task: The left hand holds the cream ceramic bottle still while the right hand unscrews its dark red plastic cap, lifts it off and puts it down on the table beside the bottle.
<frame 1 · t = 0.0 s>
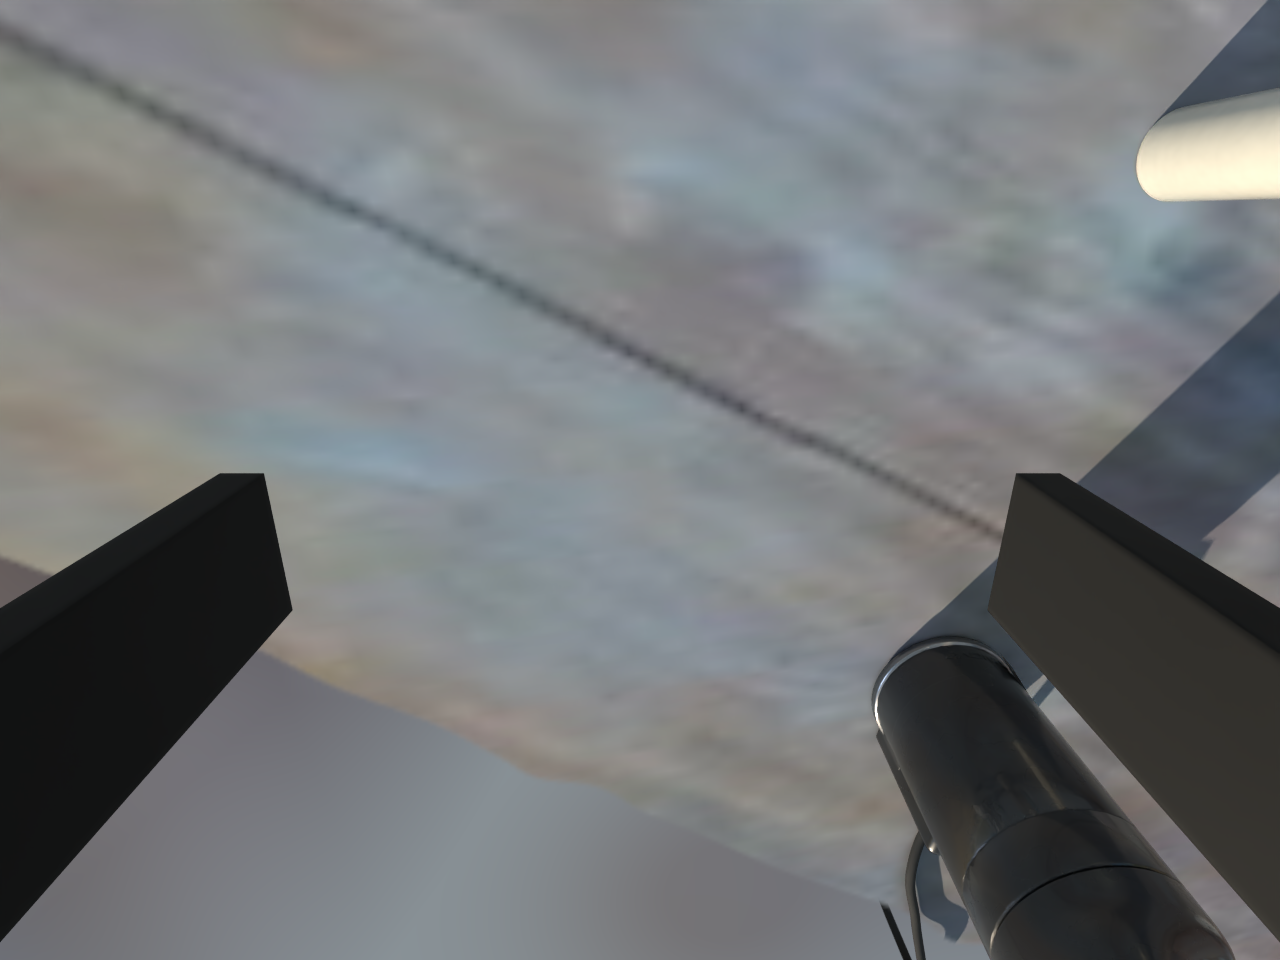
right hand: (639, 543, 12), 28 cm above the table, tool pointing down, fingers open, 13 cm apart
bottle: (1180, 154, 35), on the table
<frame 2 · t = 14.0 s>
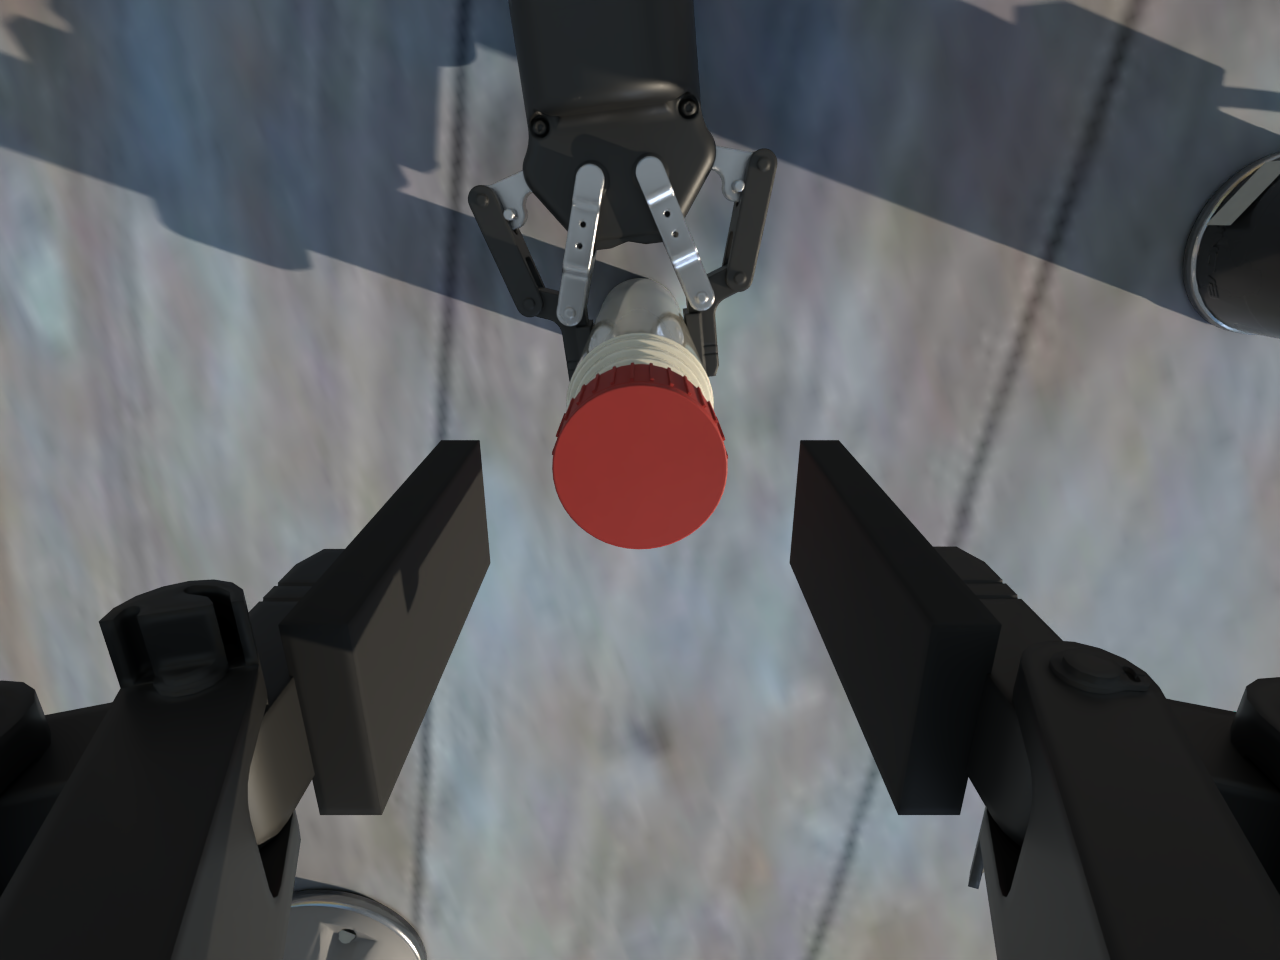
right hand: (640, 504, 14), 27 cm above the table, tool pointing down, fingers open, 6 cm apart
left hand: (645, 390, 34), fingers closed on bottle, 4 cm apart
cap: (639, 466, 16), point 24 cm above the table, screwed on, not yet turned
bottle: (639, 319, 39), on the table, touching left hand
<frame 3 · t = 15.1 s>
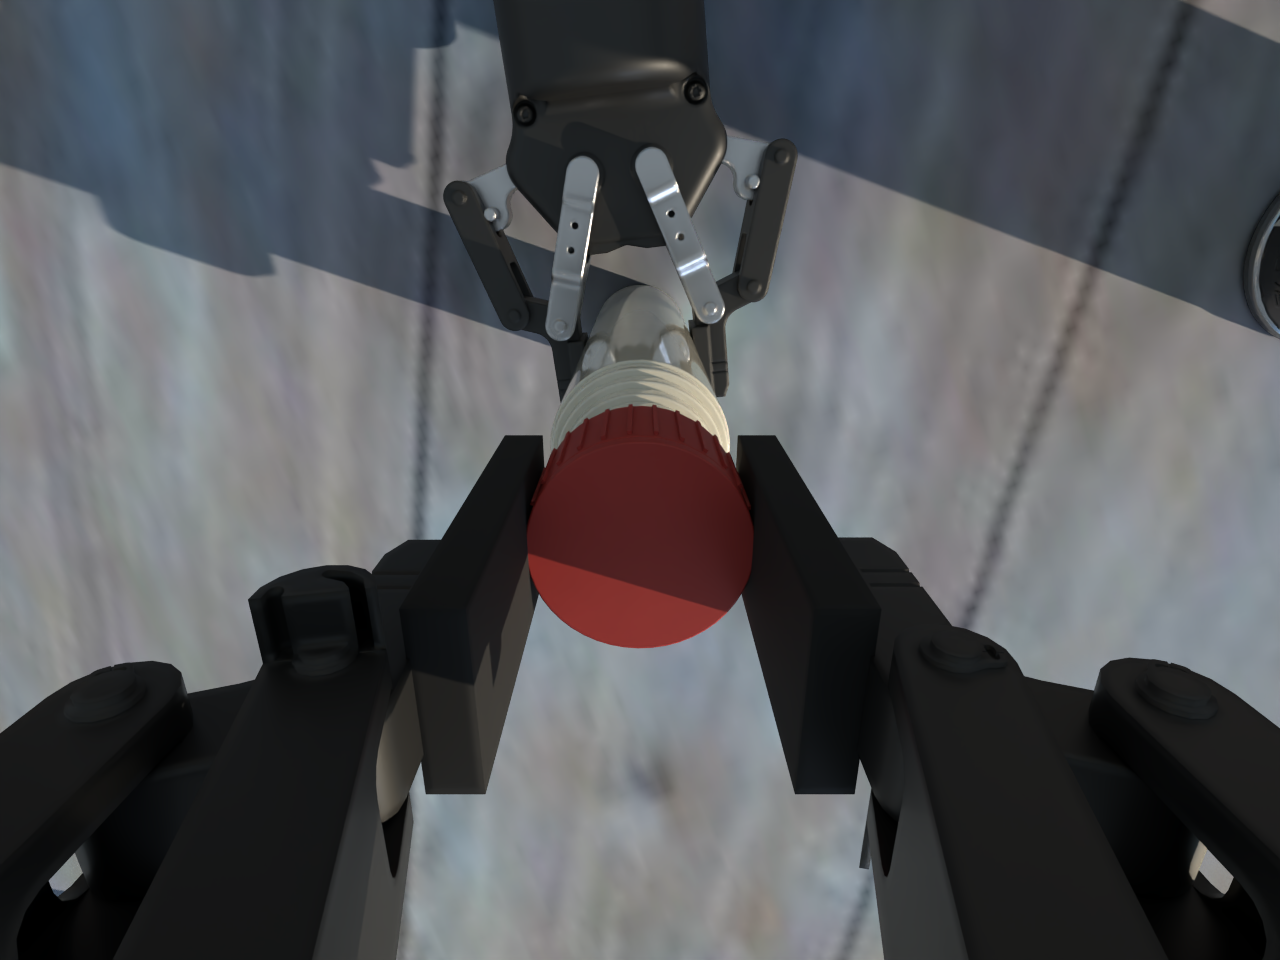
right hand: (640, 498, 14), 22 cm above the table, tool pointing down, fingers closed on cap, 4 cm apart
left hand: (646, 412, 30), fingers closed on bottle, 4 cm apart
cap: (640, 543, 12), point 24 cm above the table, screwed on, not yet turned, touching right hand
bottle: (640, 330, 35), on the table, touching left hand
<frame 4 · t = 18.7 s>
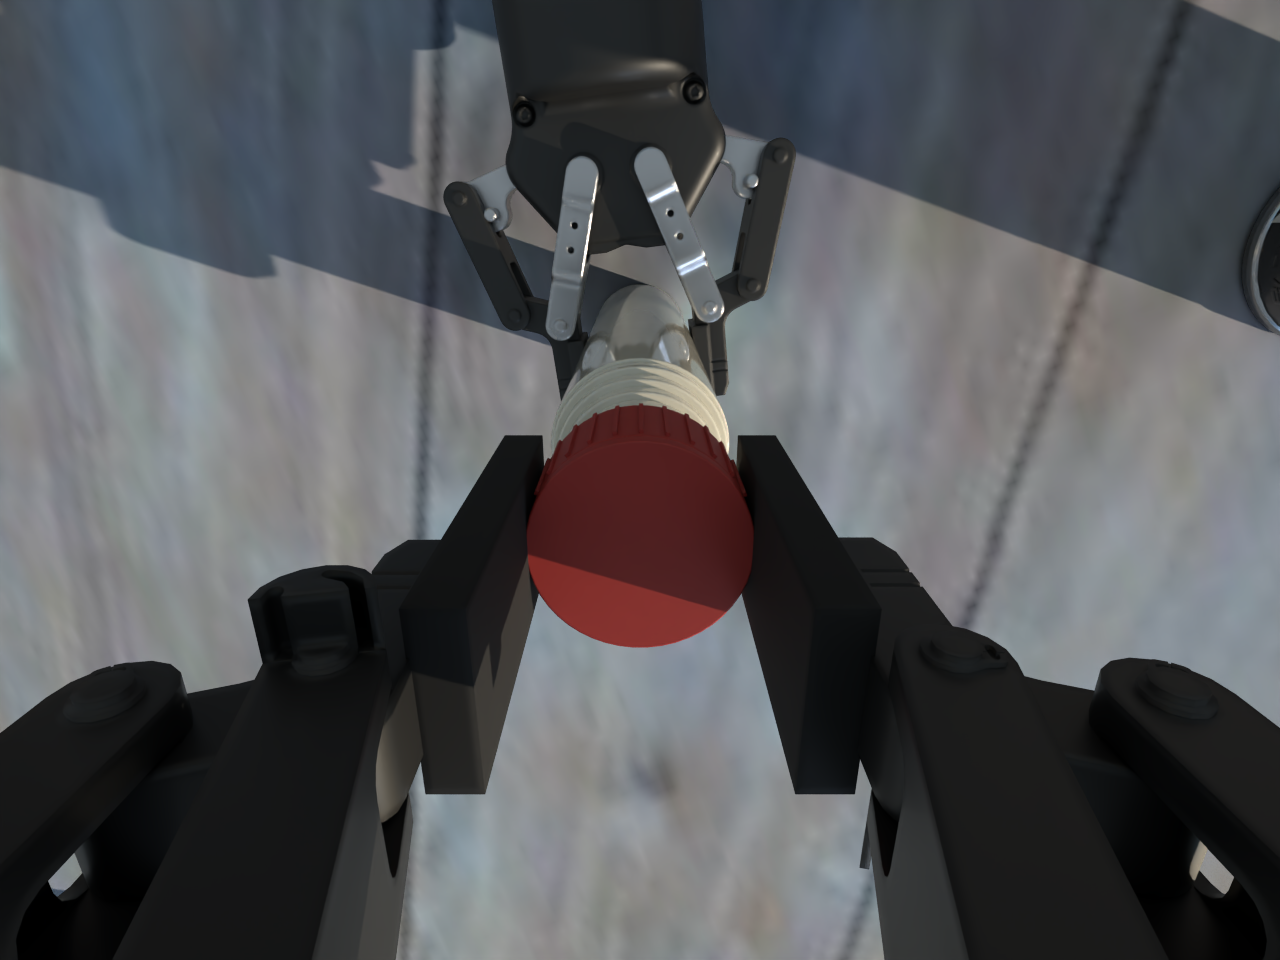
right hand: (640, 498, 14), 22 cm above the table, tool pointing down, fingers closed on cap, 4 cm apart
left hand: (646, 411, 30), fingers closed on bottle, 4 cm apart
cap: (640, 543, 12), point 25 cm above the table, turned 110° so far, risen 0.1 cm, still on its thread, touching right hand
bottle: (640, 329, 35), on the table, touching left hand
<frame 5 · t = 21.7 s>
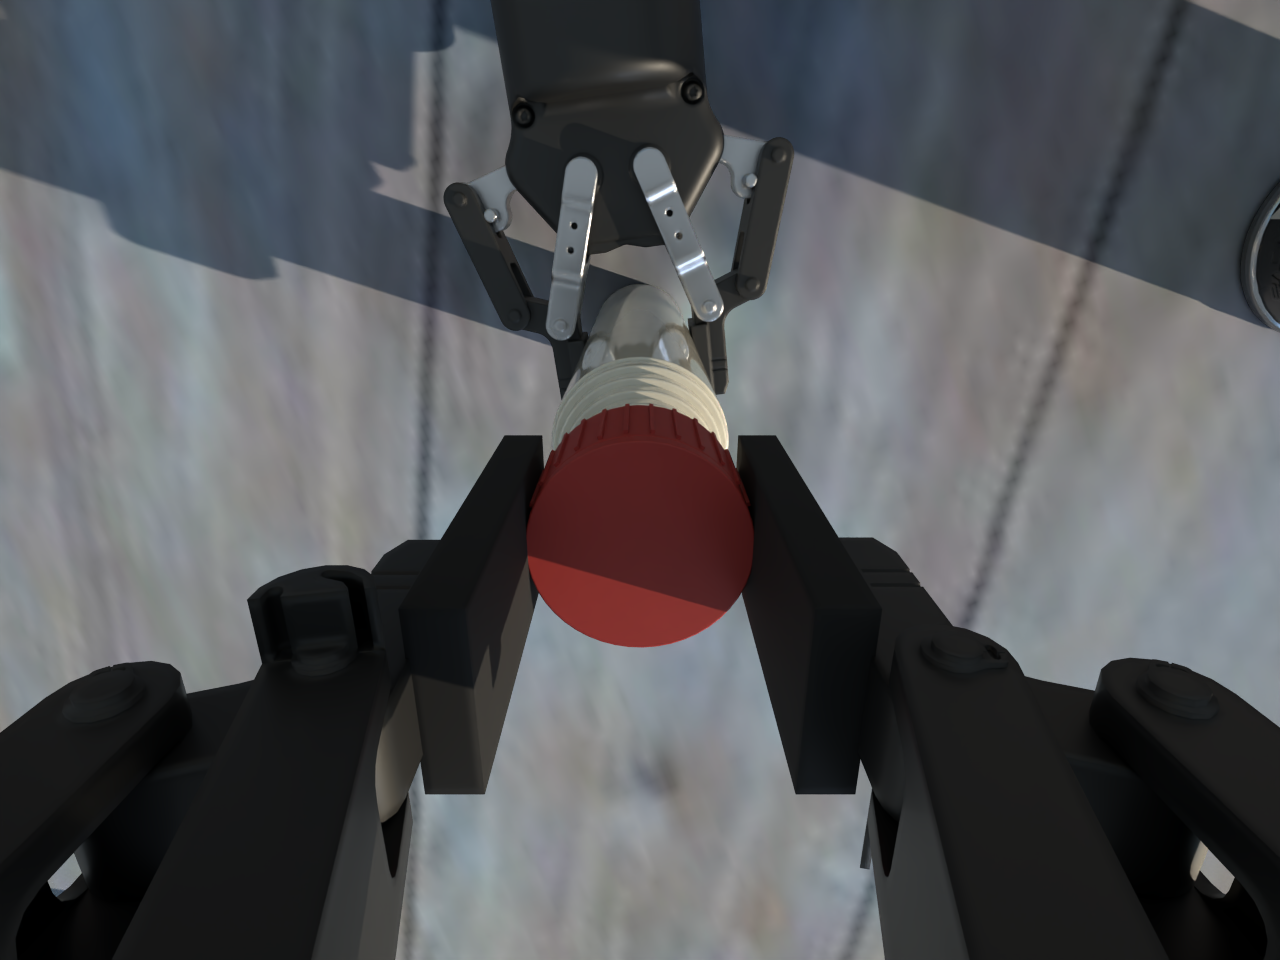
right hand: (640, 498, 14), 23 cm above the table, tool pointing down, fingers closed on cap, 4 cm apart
left hand: (646, 410, 31), fingers closed on bottle, 4 cm apart
cap: (640, 543, 12), point 25 cm above the table, turned 220° so far, risen 0.3 cm, still on its thread, touching right hand
bottle: (640, 329, 35), on the table, touching left hand
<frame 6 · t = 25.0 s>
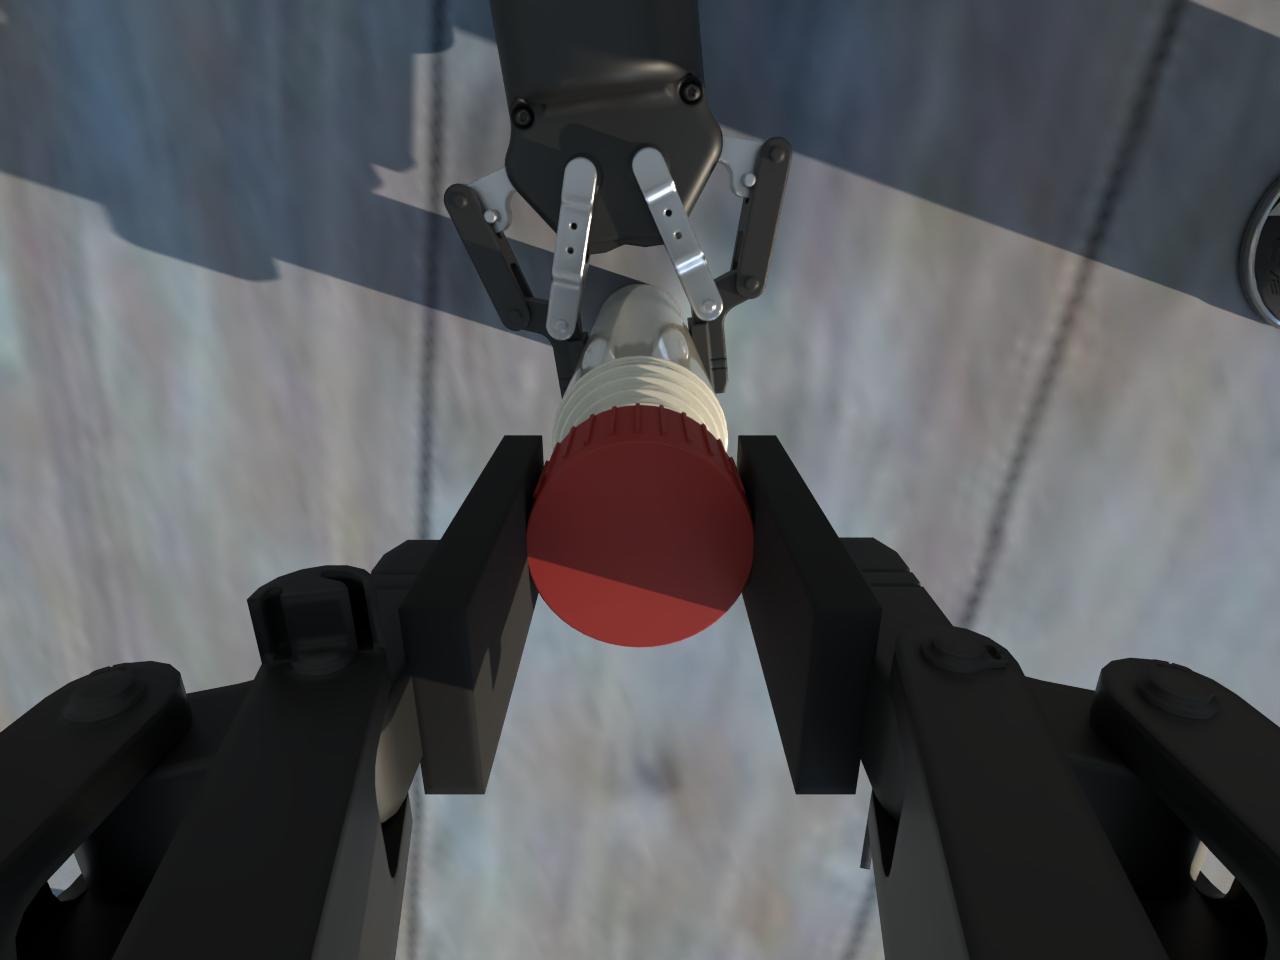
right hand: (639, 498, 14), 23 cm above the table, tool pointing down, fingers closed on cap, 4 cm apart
left hand: (647, 409, 31), fingers closed on bottle, 4 cm apart
cap: (640, 542, 12), point 25 cm above the table, turned 330° so far, risen 0.4 cm, still on its thread, touching right hand
bottle: (640, 328, 35), on the table, touching left hand
when the right hand's fingers open (1 cm above the table, at t = 32.2 s): cap drops 1 cm, point 2 cm above the table.
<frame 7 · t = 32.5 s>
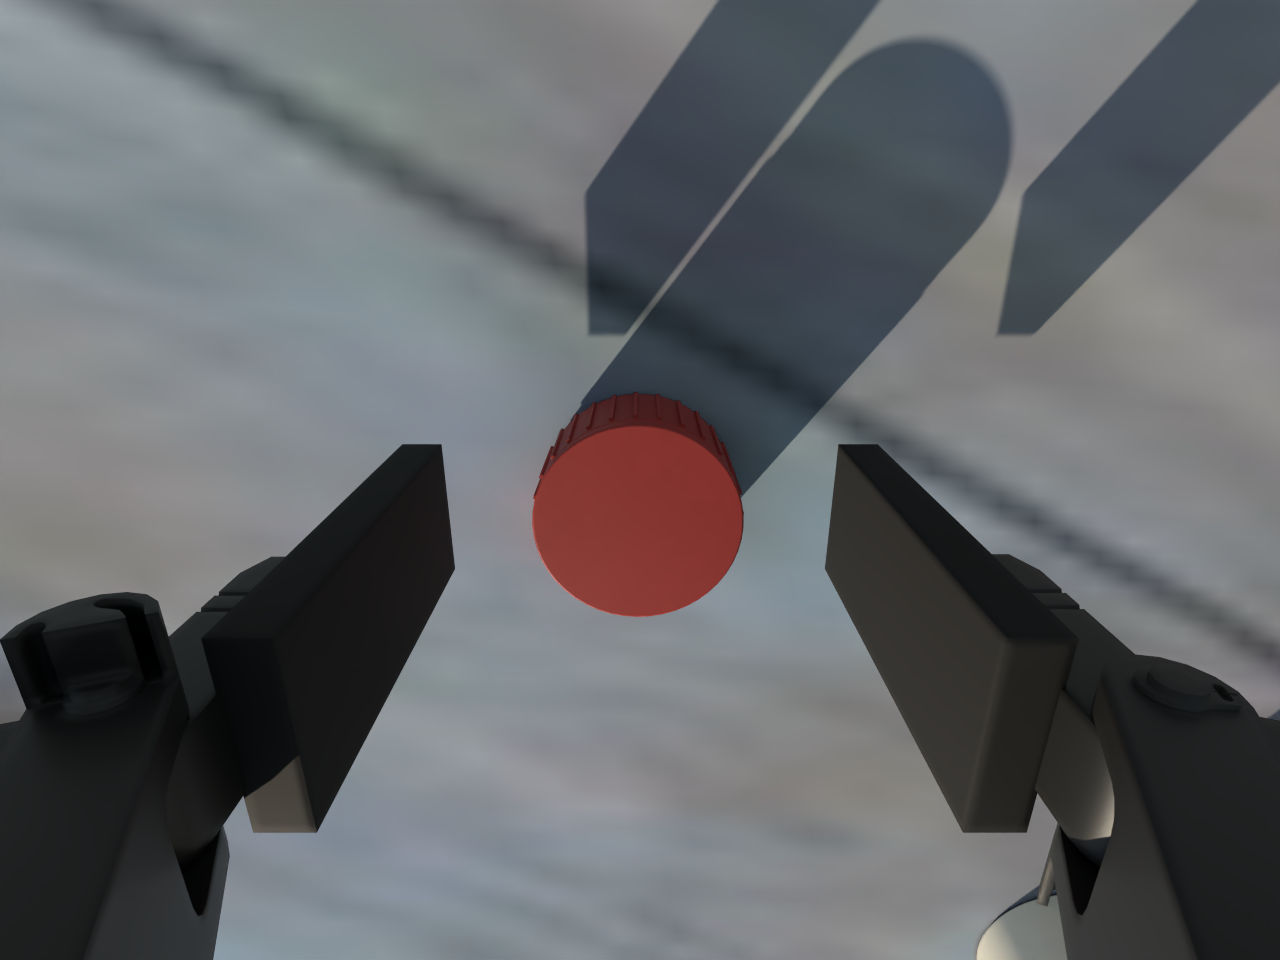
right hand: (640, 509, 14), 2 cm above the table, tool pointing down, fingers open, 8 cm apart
cap: (638, 519, 13), point 2 cm above the table, off its thread
bottle: (1051, 947, 21), on the table, touching left hand
when the left hand's fingers open (6 cm above the table, at t = 33.5 s): bottle stays where it is, on the table.
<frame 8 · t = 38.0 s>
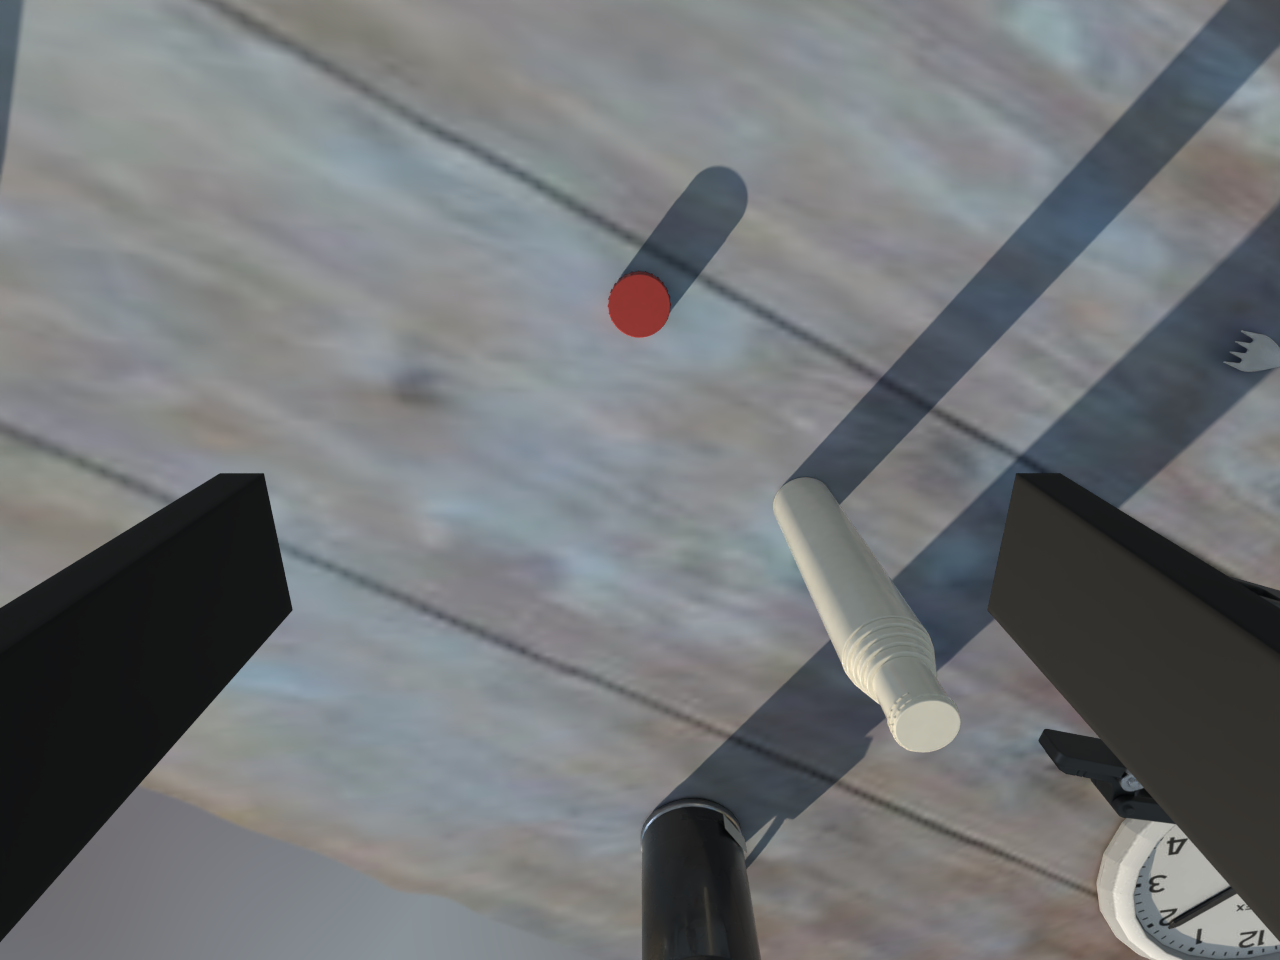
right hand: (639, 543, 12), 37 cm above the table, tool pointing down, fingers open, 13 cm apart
wall clock: (1256, 859, 65), on the table
cap: (639, 305, 45), point 2 cm above the table, off its thread
bottle: (802, 504, 52), on the table
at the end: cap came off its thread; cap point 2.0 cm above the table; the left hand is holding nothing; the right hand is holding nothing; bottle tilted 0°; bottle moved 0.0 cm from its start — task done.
